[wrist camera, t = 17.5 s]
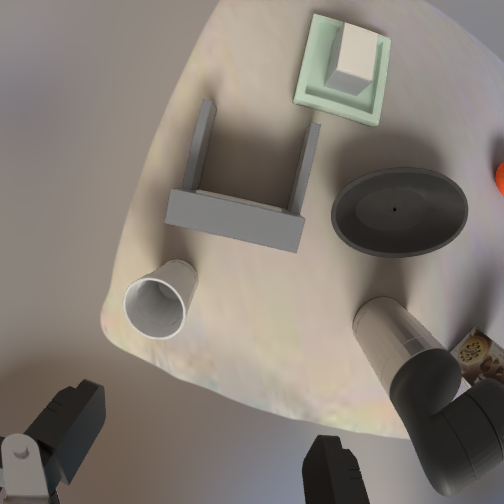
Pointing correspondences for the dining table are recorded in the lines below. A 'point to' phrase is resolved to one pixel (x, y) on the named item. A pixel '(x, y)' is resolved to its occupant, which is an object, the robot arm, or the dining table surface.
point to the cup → (161, 299)
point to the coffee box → (479, 358)
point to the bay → (237, 209)
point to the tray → (330, 100)
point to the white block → (351, 60)
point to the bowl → (399, 212)
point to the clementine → (500, 178)
